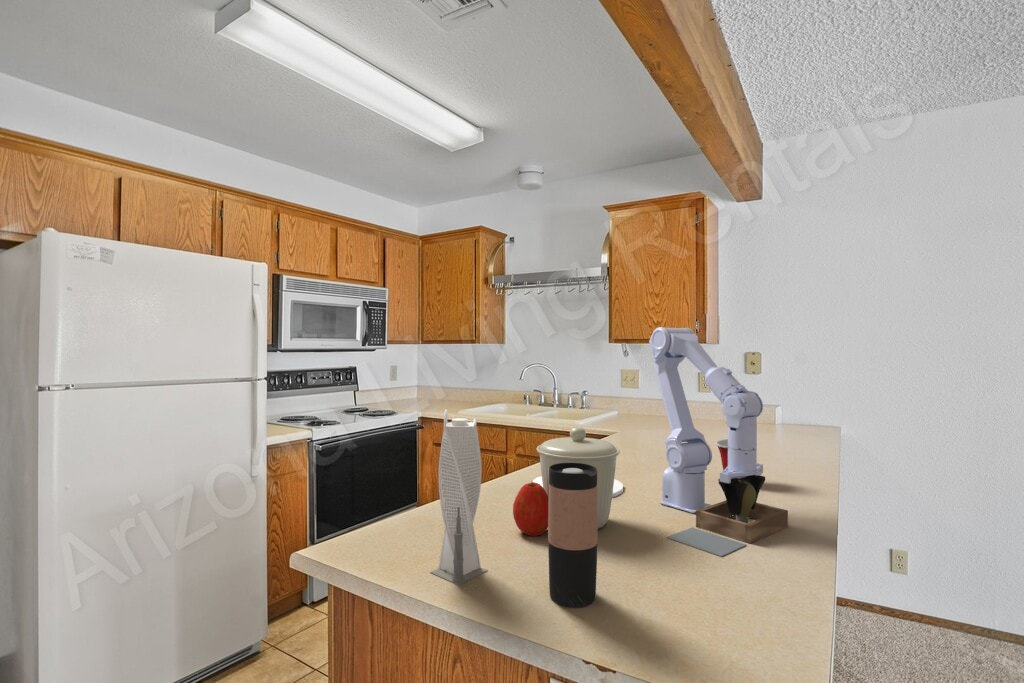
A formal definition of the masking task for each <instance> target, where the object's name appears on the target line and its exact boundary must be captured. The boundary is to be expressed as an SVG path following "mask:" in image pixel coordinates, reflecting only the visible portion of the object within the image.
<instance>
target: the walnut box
mask: <svg viewBox="0 0 1024 683" xmlns="http://www.w3.org/2000/svg"><path fill="white" fill-rule="evenodd" d="M710 505H711V506H708V507H705V508H702V509H699V510H696V513H695V527H696V528H698V527H699V528H698V529H701V528H702V530H704V531H708V530H709V532H711V531H712V533H714V532H715V533H714V534H717V533H718V534H717V535H720V536H724V535H725V536H724V537H727V536H728V538H730V537H731V539H733V538H734V539H733V540H737V541H739V542H742V543H745V544H746V543H747V544H749V545H751V544H754V543H755V542H758V541H759V540H762V539H764V538H766V537H769V536H770V534H771V535H772V533H773V534H775V533H777V532H779V531H782V530H784V529H785V528H788V526H789V510H788V509H784V508H780V507H775V506H771V505H767V504H764V503H759V502H756V505H755V508H754V509H753V510H752V509H751V510H750V514H749V516H748V518H749V517H750V519H752V518H753V519H752V520H754V521H750V522H748V523H744V522H741V521H737V520H736V519H733V518H731V517H733V516H732V515H734V516H736V515H735V514H732V513H730V512H729V508H728V504H727V500H726V499H725V500H723V501H720V502H717V503H715V504H710ZM730 516H731V517H730ZM727 517H728V518H727ZM756 519H757V520H756ZM781 529H782V530H781ZM774 532H775V533H774Z"/></svg>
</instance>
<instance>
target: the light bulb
mask: <svg viewBox="0 0 1024 683" xmlns="http://www.w3.org/2000/svg"><path fill="white" fill-rule="evenodd" d="M738 481H740V483H744V484H748V485H747V487H746V489H745V492H744V495H743V500H742V509H741V513H740V515H735V520H737V521H741V522H744V523H749V517H748V516H749V514H750V510H751V508H752V506H753V504H754V502H755V500H756V491H755V489H754V487H753V486H752V485H751V484H750V483H749V482H747V481H744V480H738Z"/></svg>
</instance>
